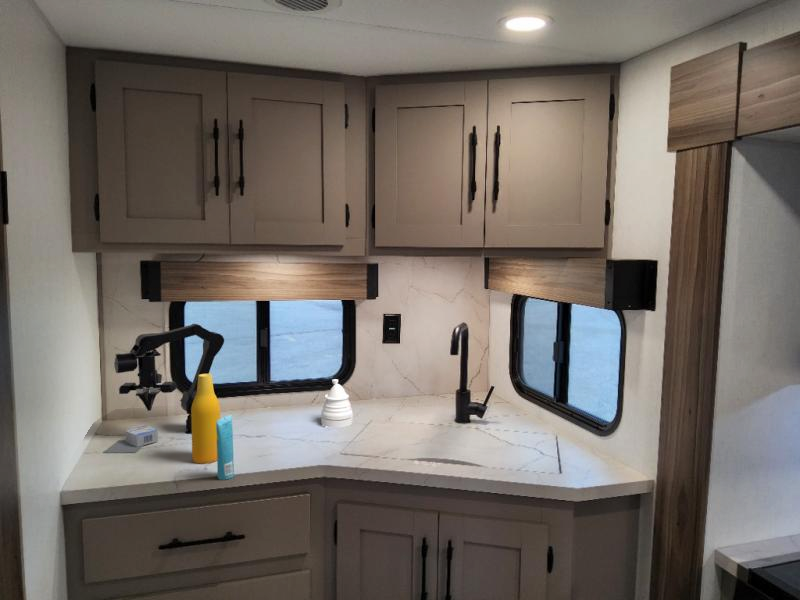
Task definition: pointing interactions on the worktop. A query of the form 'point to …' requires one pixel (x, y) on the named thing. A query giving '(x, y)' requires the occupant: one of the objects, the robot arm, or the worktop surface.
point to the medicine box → (141, 436)
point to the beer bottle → (204, 421)
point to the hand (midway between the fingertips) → (149, 410)
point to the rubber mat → (122, 447)
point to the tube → (225, 448)
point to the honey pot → (337, 408)
